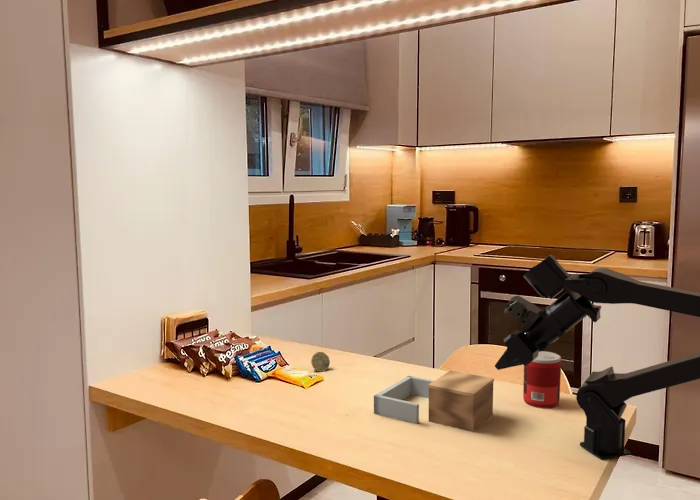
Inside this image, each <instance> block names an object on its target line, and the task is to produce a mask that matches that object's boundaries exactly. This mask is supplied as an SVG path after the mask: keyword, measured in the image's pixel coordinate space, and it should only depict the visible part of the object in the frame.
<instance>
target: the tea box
mask: <svg viewBox="0 0 700 500" xmlns="http://www.w3.org/2000/svg"><path fill="white" fill-rule="evenodd" d="M494 382H495V378H494V377H493V378H492V377H487V376H482V375H479V374H478V375H476V374H473V373H472V374H471V373H467V372H460V371H456V370H449V371H447V372H446V373H444V374H443V375H441V376H440V377H438V378H436V379H435V380H433V382H432V383H430V384H429V385H428V388H429V398H428V422H429V423H433V424H438V425H442V426H446V427H449V426H450V427H451V428H453V429H458V430H463V431H467V432H470V433H474V432H475V431H476V430H478V428H480V427H481V426H482V425H483V424H484V423H485V422H486V421H487V420H488V419H490V417H492V416H493V412H494Z"/></svg>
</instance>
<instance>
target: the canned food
mask: <svg viewBox="0 0 700 500" xmlns="http://www.w3.org/2000/svg"><path fill="white" fill-rule="evenodd" d="M561 374H562V357H561V355H559V354H557V353H556V352H552V351H544V350H543V351H540V352H538V357H537V358H535V359H534V360H533V361H532V362H530V363H529V364H528V365H527V366H525V365H523V391H522V392H523V393H522V397H523V401H524V403H525V404H527V405H528V406H532V407H535V408H541V409H550V408H556V407H557V406H558V405H559V403H560V398H561V397H560V396H561V395H560V394H561V393H560V392H561Z"/></svg>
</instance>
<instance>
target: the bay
mask: <svg viewBox="0 0 700 500" xmlns="http://www.w3.org/2000/svg"><path fill="white" fill-rule="evenodd" d="M433 381H434V380H432V379H427V378H421V377H417V376H411V375H407V376H406V377H403V378H402V379H401V380H399V381H397V382H395V383H394V384H391V385H390V386H388V387H386V388H385V389H383V390H381V391H380V392H378V393H376V394H375V395H373V414H375V415H380V416H383V417H388V418H391V419H396V420H398V421H399V420H400V421H403V422H408V423H412V424H418V423H419V420H420V409H419V408H420V404H419V403H415V402H413V401H412V402H411V401H408V400H404V399H406V398H407V397H409V396H410V395H414V396H419V397H424V398H427V399H429V388H428V385H429V384H430V383H432V382H433Z"/></svg>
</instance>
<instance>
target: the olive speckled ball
mask: <svg viewBox="0 0 700 500" xmlns="http://www.w3.org/2000/svg"><path fill="white" fill-rule="evenodd" d="M330 362H331V361H330V357H329V356H328V354H327V353H326V352H323V351H317V352H315V353H314V354H313V355H312V356H311V360H310V363H311V366H312V368H313V369H314V370H315V371H316V372H324V371H326V370H327V369H328V368H329V367H330V364H331V363H330Z"/></svg>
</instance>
